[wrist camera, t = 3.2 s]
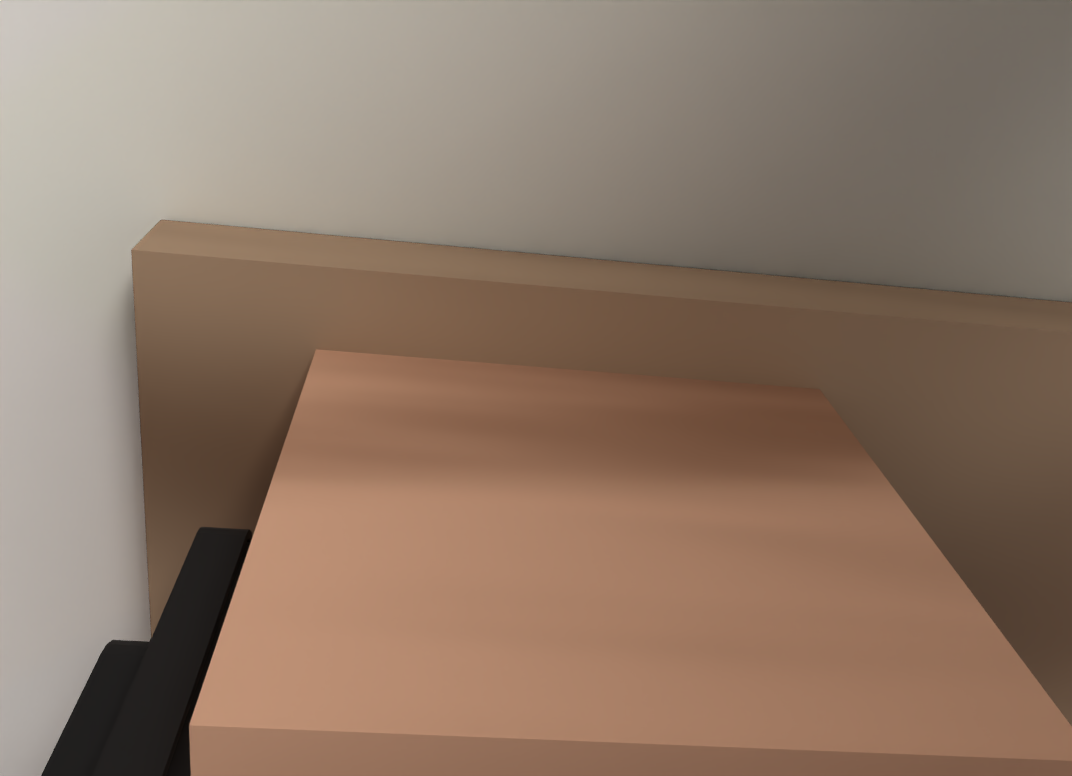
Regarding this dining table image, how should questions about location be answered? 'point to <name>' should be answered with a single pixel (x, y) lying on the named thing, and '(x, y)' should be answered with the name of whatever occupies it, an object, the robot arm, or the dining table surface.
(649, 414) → the top block
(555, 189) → the dining table surface
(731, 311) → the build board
